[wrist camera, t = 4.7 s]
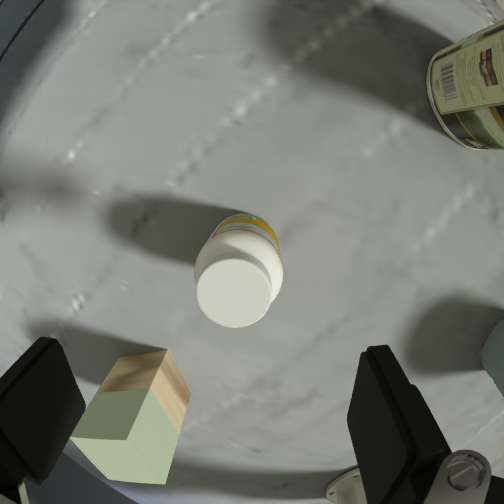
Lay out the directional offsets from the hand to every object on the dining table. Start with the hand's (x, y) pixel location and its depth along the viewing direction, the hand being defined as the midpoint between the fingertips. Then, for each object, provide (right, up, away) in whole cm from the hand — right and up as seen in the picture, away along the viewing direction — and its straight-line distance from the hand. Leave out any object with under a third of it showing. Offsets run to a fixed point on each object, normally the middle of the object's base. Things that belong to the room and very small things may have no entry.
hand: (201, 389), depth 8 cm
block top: (-9, -11, +16) cm, 21 cm away
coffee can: (+21, +18, +12) cm, 31 cm away
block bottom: (-9, -9, +21) cm, 25 cm away
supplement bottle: (+1, +5, +17) cm, 18 cm away
